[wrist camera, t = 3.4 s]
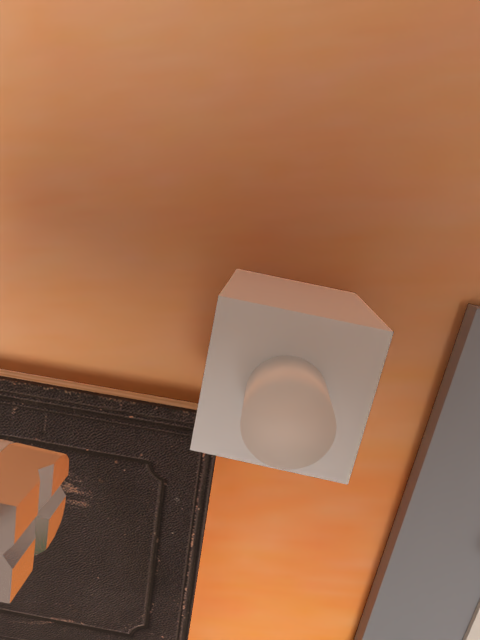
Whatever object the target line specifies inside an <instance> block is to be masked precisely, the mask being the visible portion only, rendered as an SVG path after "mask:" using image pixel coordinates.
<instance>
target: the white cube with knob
mask: <svg viewBox="0 0 480 640" xmlns="http://www.w3.org/2000/svg"><path fill="white" fill-rule="evenodd" d="M393 333H394V332H393V331H392V330H391V329H390V328H389V327H388V326H387V325H386V324H385V323H384V322H383V320H382V319H381V318H380V317H379V316H378V315H377V314H376V313H375V312H374V311H373V310H372V309H371V308H370V307H369V306H368V305H367V304H366V303H365V302H364V301H363V300H362V299H361V298H360V297H359V296H358V295H357V294H356V293H354V292H349V291H344V290H339V289H334V288H329V287H324V286H320V285H315V284H310V283H305V282H300V281H295V280H291V279H286V278H281V277H276V276H271V275H266V274H261V273H257V272H252V271H247V270H242V269H236V271H235V272H234V273H233V275H232V276H231V278H230V279H229V281H228V282H227V284H226V285H225V287H224V288H223V290H222V291H221V292H220V294H219V295H218V301H217V306H216V311H215V317H214V322H213V328H212V333H211V338H210V344H209V349H208V355H207V360H206V365H205V371H204V376H203V381H202V387H201V392H200V398H199V403H198V408H197V414H196V419H195V425H194V430H193V435H192V441H191V446H190V450H193V451H197V452H202V453H206V454H211V455H216V456H220V457H225V458H229V459H234V460H238V461H243V462H247V463H252V464H256V465H261V466H266V467H270V468H275V469H279V470H284V471H288V472H293V473H297V474H302V475H306V476H311V477H315V478H320V479H325V480H329V481H334V482H338V483H343V484H347V485H348V483H349V480H350V476H351V473H352V470H353V466H354V463H355V460H356V456H357V453H358V450H359V446H360V443H361V440H362V436H363V433H364V430H365V426H366V423H367V420H368V416H369V413H370V410H371V406H372V403H373V400H374V396H375V393H376V390H377V386H378V383H379V380H380V376H381V373H382V370H383V366H384V363H385V360H386V356H387V353H388V350H389V346H390V343H391V340H392V336H393Z"/></svg>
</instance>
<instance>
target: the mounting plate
mask: <svg viewBox="0 0 480 640" xmlns="http://www.w3.org/2000/svg"><path fill="white" fill-rule="evenodd" d="M354 640H480V306H477V305H472V304H468V306H467V309H466V312H465V315H464V318H463V321H462V324H461V327H460V330H459V333H458V336H457V339H456V342H455V344H454V347H453V350H452V353H451V356H450V359H449V362H448V365H447V368H446V371H445V374H444V377H443V380H442V383H441V386H440V388H439V391H438V394H437V397H436V400H435V403H434V406H433V409H432V412H431V415H430V418H429V421H428V424H427V427H426V430H425V433H424V435H423V438H422V441H421V444H420V447H419V450H418V453H417V456H416V459H415V462H414V465H413V468H412V471H411V474H410V477H409V479H408V482H407V485H406V488H405V491H404V494H403V497H402V500H401V503H400V506H399V509H398V512H397V515H396V518H395V521H394V523H393V526H392V529H391V532H390V535H389V538H388V541H387V544H386V547H385V550H384V553H383V556H382V559H381V562H380V565H379V567H378V570H377V573H376V576H375V579H374V582H373V585H372V588H371V591H370V594H369V597H368V600H367V603H366V606H365V609H364V612H363V614H362V617H361V620H360V623H359V626H358V629H357V632H356V635H355V638H354Z"/></svg>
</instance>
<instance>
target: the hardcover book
mask: <svg viewBox="0 0 480 640" xmlns="http://www.w3.org/2000/svg"><path fill="white" fill-rule="evenodd" d="M197 408H198V403H193V402H188V401H182V400H176V399H171V398H165V397H159V396H153V395H148V394H142V393H136V392H130V391H125V390H119V389H113V388H108V387H102V386H96V385H90V384H85V383H79V382H73V381H68V380H62V379H56V378H50V377H45V376H39V375H33V374H27V373H22V372H16V371H10V370H5V369H0V439H2V440H7V441H12V442H14V443H20V444H25V445H29V446H33V447H38V448H42V449H46V450H51V451H55V452H60V453H64V454H67V456H68V458H69V470H68V476H67V477H66V478H65V480H64V481H63V482H62V484H61V485H60V486H61V488H62V490H63V491H64V493H65V495H66V500H65V508H64V512H63V516H62V520H61V523H60V525H59V527H58V530H57V532H56V534H55V537H54V538H53V540H52V541H51V543H50V545H49V546H48V548H47V549H46V550H45V551H43V552H41V553H39V554H37V555H35V556H34V560H33V570H32V572H31V573H30V575H29V576H28V578H27V579H26V581H25V582H24V583H23V585H22V586H21V588H20V589H19V591H18V592H17V594H16V595H15V597H14V598H13V600H12V601H11V603H10V604H9V603H3V602H0V640H188V634H189V628H190V621H191V615H192V608H193V601H194V595H195V588H196V582H197V575H198V569H199V562H200V556H201V549H202V543H203V536H204V530H205V523H206V517H207V510H208V504H209V497H210V490H211V484H212V477H213V471H214V464H215V458H216V455H211V454H206V453H202V452H197V451H193V450H190V446H191V441H192V435H193V430H194V425H195V419H196V414H197Z"/></svg>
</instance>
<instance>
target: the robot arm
mask: <svg viewBox="0 0 480 640" xmlns="http://www.w3.org/2000/svg"><path fill="white" fill-rule="evenodd" d="M68 470H69V458H68V456H67V454H64V453H60V452H55V451H51V450H46V449H42V448H38V447H33V446H29V445H25V444H20V443H14V442H12V441H7V440H2V439H0V602H3V603H9V604H10V603H11V601H12V600H13V598H14V597H15V595H16V594H17V592H18V591H19V589H20V588H21V586H22V585H23V583H24V582H25V581H26V579H27V578H28V576H29V575H30V573H31V572H32V570H33V560H34V556H35V555H37V554H39V553H41V552H43V551H45V550H46V549H47V548H48V546H49V545H50V543H51V541H52V540H53V538H54V537H55V534H56V532H57V530H58V527H59V525H60V523H61V520H62V516H63V512H64V508H65V500H66V495H65V493H64V491H63V490H62V488H61V486H60V485H61V484H62V482H63V481H64V480H65V478H66V477H67V476H68Z"/></svg>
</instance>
